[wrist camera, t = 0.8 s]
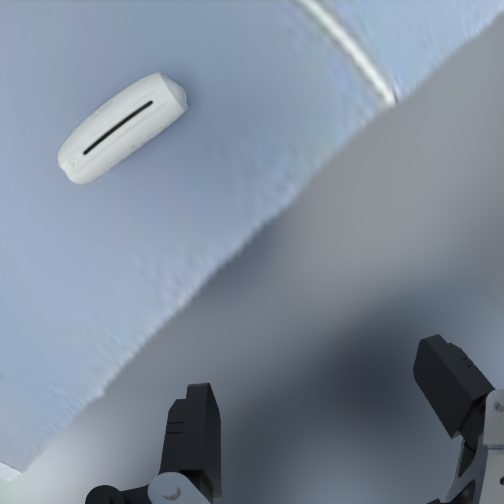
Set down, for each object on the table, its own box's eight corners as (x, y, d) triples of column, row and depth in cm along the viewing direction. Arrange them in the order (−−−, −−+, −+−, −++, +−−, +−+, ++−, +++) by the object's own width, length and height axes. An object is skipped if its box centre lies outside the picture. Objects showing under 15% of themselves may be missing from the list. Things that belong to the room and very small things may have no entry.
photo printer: (113, 164, 29) (71, 204, 18) (91, 132, 26) (37, 156, 16) (195, 107, 28) (196, 112, 17) (173, 73, 25) (160, 57, 15)
